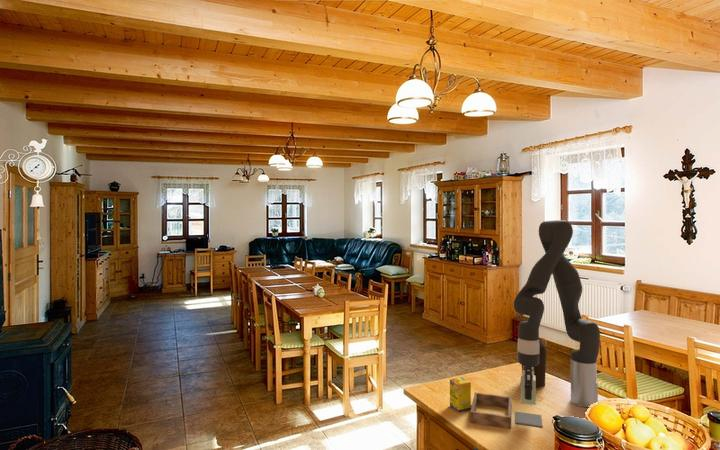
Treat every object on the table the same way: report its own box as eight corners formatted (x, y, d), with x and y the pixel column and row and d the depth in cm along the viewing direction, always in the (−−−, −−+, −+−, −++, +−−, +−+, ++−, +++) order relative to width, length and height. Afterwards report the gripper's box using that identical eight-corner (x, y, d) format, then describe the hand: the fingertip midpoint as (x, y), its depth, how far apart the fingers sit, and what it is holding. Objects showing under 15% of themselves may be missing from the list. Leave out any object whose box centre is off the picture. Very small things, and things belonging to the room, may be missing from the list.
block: (535, 399, 161) (535, 375, 161) (535, 405, 156) (535, 380, 156) (520, 397, 163) (520, 373, 163) (520, 402, 158) (520, 378, 158)
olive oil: (547, 390, 186) (547, 332, 185) (520, 386, 190) (520, 330, 189) (546, 381, 196) (546, 326, 195) (521, 378, 199) (521, 324, 199)
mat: (541, 416, 162) (541, 415, 162) (542, 427, 154) (542, 426, 154) (515, 412, 166) (515, 411, 166) (515, 423, 157) (515, 422, 157)
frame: (511, 407, 170) (511, 396, 170) (511, 428, 153) (511, 417, 153) (474, 402, 175) (474, 392, 175) (470, 422, 158) (470, 411, 158)
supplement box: (449, 406, 172) (449, 378, 171) (462, 403, 174) (461, 376, 174) (458, 412, 166) (458, 384, 166) (471, 409, 169) (471, 381, 168)
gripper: (540, 357, 151) (540, 405, 152) (538, 345, 165) (538, 390, 165) (517, 355, 154) (517, 402, 154) (517, 343, 167) (517, 387, 168)
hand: (528, 395), depth 160 cm, fingers closed on block, 5 cm apart
